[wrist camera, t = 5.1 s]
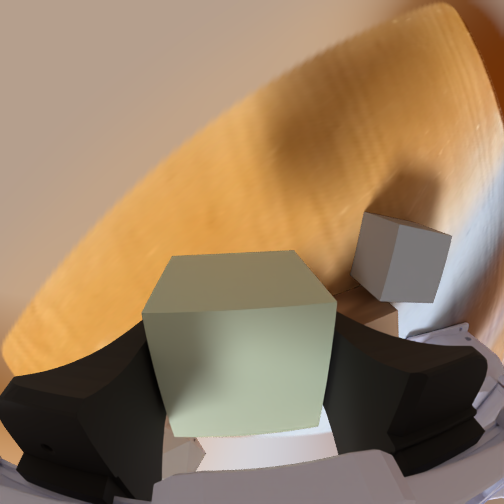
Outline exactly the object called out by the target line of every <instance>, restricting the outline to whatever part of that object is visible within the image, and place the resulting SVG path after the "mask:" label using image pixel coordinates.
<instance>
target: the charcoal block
mask: <svg viewBox="0 0 504 504" xmlns="http://www.w3.org/2000/svg"><path fill="white" fill-rule="evenodd" d="M451 239H452V236H451V235H448V234H445V233H443V232H440V231H437V230H434V229H432V228H429V227H426V226H423V225H420V224H417V223H415V222H411V221H406V220H402V219H397V218H392V217H388V216H383V215H378V214H373V213H368V212H364V214H363V219H362V224H361V229H360V234H359V238H358V243H357V248H356V252H355V256H354V261H353V265H352V269H351V273H350V275H351V276H352V277H353V278H354V279H355V280H357V281H358V282H359V283H360V284H361V285H362V286H363V287H364V288H366V289H367V290H368V291H369V292H370V293H371V294H372V295H373V296H375V297H376V298H377V299H378V300H379V301H386V302H412V303H433V302H434V299H435V296H436V293H437V289H438V286H439V283H440V280H441V277H442V273H443V270H444V266H445V262H446V259H447V255H448V251H449V247H450V243H451Z"/></svg>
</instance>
